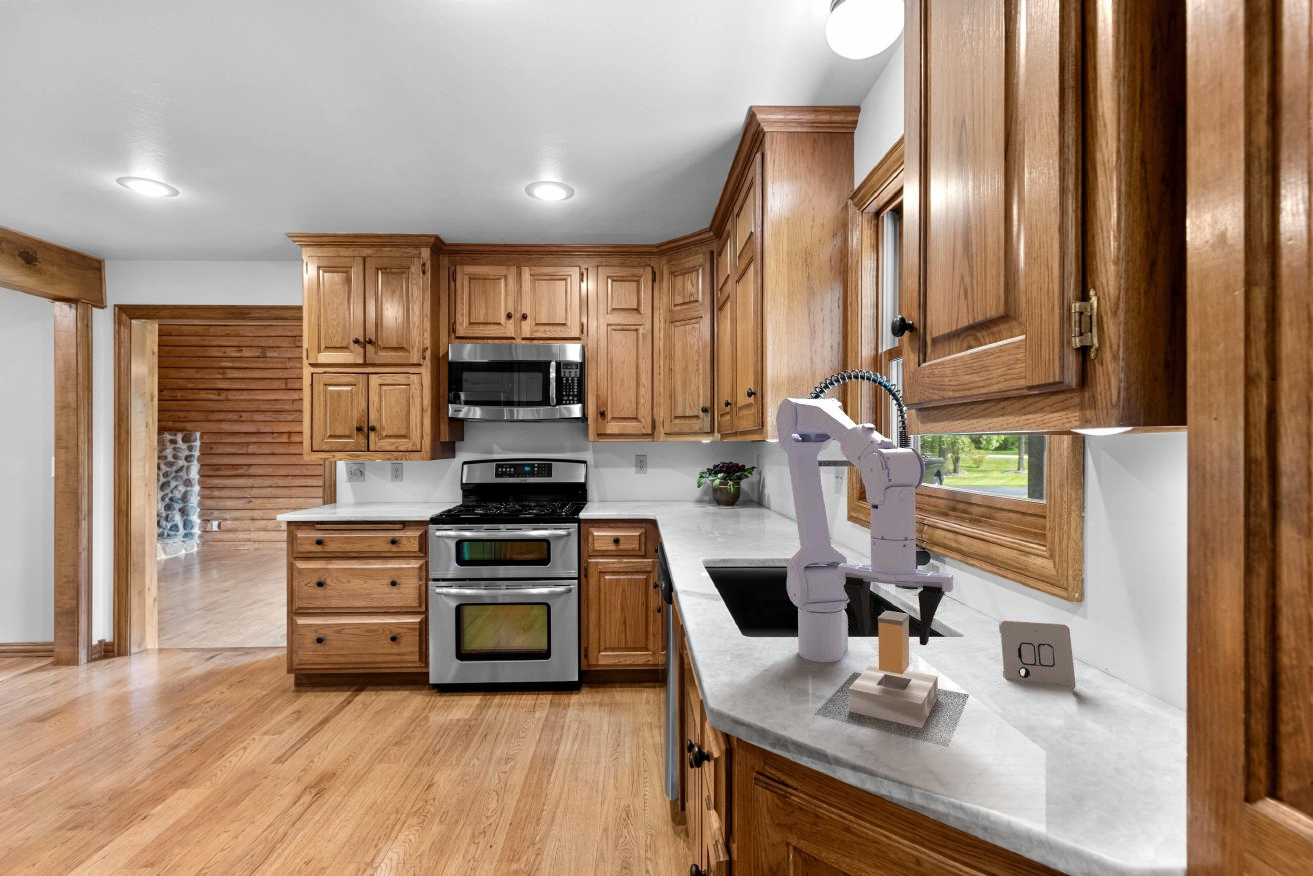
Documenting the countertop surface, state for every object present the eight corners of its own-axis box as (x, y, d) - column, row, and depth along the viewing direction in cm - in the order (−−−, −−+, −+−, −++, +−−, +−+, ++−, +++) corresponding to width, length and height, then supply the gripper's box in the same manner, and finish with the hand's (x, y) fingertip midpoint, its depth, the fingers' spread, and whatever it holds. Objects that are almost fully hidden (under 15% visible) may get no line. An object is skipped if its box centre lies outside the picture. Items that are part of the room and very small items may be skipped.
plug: (886, 661, 87) (885, 610, 87) (909, 665, 85) (909, 613, 85) (878, 670, 84) (877, 617, 84) (902, 674, 82) (902, 621, 82)
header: (854, 678, 96) (854, 652, 96) (969, 701, 88) (969, 673, 88) (813, 722, 81) (813, 691, 81) (948, 756, 73) (947, 721, 73)
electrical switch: (1004, 686, 93) (1002, 622, 94) (996, 677, 98) (994, 616, 99) (1077, 693, 90) (1074, 627, 91) (1064, 683, 95) (1062, 621, 96)
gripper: (830, 537, 85) (831, 637, 85) (946, 546, 77) (947, 656, 77) (846, 530, 91) (846, 624, 91) (955, 538, 83) (956, 641, 83)
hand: (893, 638), depth 85 cm, fingers open, 7 cm apart
